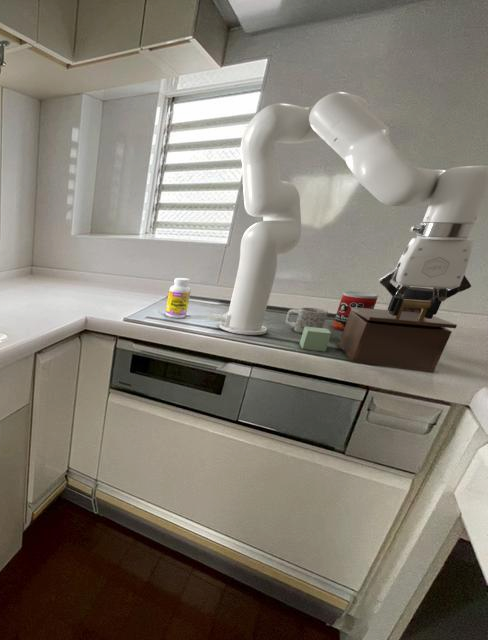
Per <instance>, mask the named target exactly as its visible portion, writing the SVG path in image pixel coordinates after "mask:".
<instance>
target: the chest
mask: <svg viewBox="0 0 488 640" xmlns="http://www.w3.org/2000/svg"><path fill="white" fill-rule="evenodd" d="M452 332H453V331H452V330H451V329H450V328H446V327H435V326H424V325H413V324H402V323H391V322H381V321H370V320H367V319H366V318H364V317H362V316H360V315H359V314H357V313H355V312H353V311H352V310H351V311H350V314H349V317H348V319H347V322H346V325H345V328H344V331H342V334H341V337H340V340H339V342H338V347H339V348H340V349H341V350H342V351H343V353H344V354H345V355H346V356H347V357H348V359H349V360H350V361H351V363H357V364H365V365H373V366H374V365H375V366H382V367H388V368H395V369H396V368H397V369H404V370H411V371H420V372H421V371H422V372H427V373H434V372H435V369H436V368H437V365H438V363H439V361H440V359H441V358H442V354H443V352H444V350H445V349H446V345H447V343H448V341H449V339H450V337H451V335H452Z"/></svg>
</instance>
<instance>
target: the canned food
mask: <svg viewBox="0 0 488 640" xmlns="http://www.w3.org/2000/svg"><path fill="white" fill-rule="evenodd" d="M378 298H379V295H378V294H376V293H371V292H365V291H353V290H352V291H351V290H350V291H344V292H343V293H342V296H341V298H340V302H339V305H338V307H337V311H336V314H335V317H334V320H333V323H332V327H333V329H335V330H338V331H342V332H343V331H344V328H345V325H346V322H347V319H348V317H349V314H350V311H351V308H352V307H357V308H369V309H375V306H376V304H377V300H378Z"/></svg>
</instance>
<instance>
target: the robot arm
mask: <svg viewBox="0 0 488 640" xmlns="http://www.w3.org/2000/svg"><path fill="white" fill-rule="evenodd" d="M390 132H391V131H390V129H389V127H388V126H387V125H386V124H384V123H383V122H382V121H381V120H380V119H379V118H378V117H376V116H375V114H373V113H372V112H370V110H369V104H368V102H367V101H366V99H365V98H363V97H362V96H359V95H356V94H352V93H349V92H346V91H335V92H332V93H329V94H326V95H325V96H324V97H322V98H320V99H319V100H318V101H317V102H316V103H315V104H314V105H311V106H299V105H295V104H292V103H285V102H279V103H272V104H269V105H267V106H264V108H262V109H261V110H259V111H258V112H257V113H256V114H255V115H254V116H253V117H252V119H251V120H250V121H249V122H248V124H247V126H246V127H245V129H244V131H243V134H242V137H241V141H240V157H241V158H240V159H241V166H242V167H241V168H242V187H243V188H242V189H243V203H244V210H245V212H246V213H247V215H249V216H251V217H254V218H262V221H257V222H256V223H254V224H252V225H251V226H249V227H248V228H247V229H246V230H245V232H244V233H243V235H242V237H241V241H240V246H239V247H240V250H239V251H240V252H239V263H238V266H237V267H238V268H237V271H236V272H237V273H236V275H235V276H236V277H235V281H234V285H233V291H232V295H231V299H230V304H229V307H228V311H226V313H222V314H218V313H211V314H210V318H209V319H210V320H213V321H214V322H220V323H219V328H220V329H221V330H223V331H226V332H228V333H232V334H238V335H245V336H246V335H247V336H262V335H264V334H266V333H267V332H268V328H267V327H266V326H264V325H263V323H264V320H265V315H266V311H267V307H268V305H269V300H270V297H271V294H272V289H273V286H274V282H275V277H276V273H277V268H278V255H282V254H287V253H289V252H291V251H292V250H294V249H295V247H297V246H298V244H299V242H300V240H301V236H302V215H301V213H302V211H301V197H300V192H299V190H298V188H297V187H296V185H294V184H293V183H292V182H289V181H285V180H282V179H281V171H280V164H281V163H280V157H279V154H278V152H277V147H276V144H277V143H278V144H279V143H280V144H285V145H286V144H300V143H308V142H314V141H322V140H323V141H324V142H325V143H326V144H327V145H328V146H329V147H330V148H331V149H332V150H333V151H334V152H335V153H336V154H338V156H339V157H340V158H341V159H342V160H343V161H344V162H345V163H346V166H347V167H348V169H349V170H350V171H351V173H352V175H353V176H354V178H355V179H356V180H357V181H358V182H359V184H361V186H363V187H364V189H366V191H368V192H369V193H370V194H371V195H372V196H373V197H374V198H375V199H376V200H378V201H379V202H381V203H382V204H384V205H387V206H389V207H416V206H426V205H427V206H428V207H427V209H426V211H425V214H424V217H423V219H422V222H420V223H419V224H417V225H411V228H410V229H409V232H410V233H414V234H415V235H416V237H412V238H411V239H410V240H409V243H408V244H407V246H406V247H405V249H404V251H403V252H402V254H401V255H400V258H399V260H398V262H397V264H396V266H395V268H394V269H393V270H391V271H390V272H388V273H386V274H385V275H383V276H382V277H380V278H379V279H378V283H379V284H380V285H381V286H382V287H383V288H384V289H386V290H387V292H388V293H389V294H390V296H391V299H390V302H389V304H388V306H387V310H388V311H389V314H391V315H392V316H396V315H398V313H399V310H400V308H401V305H402V303H403V299H402V297H403V294H404V293H405V292H406V290H407V289H408V288H409V287H421V288H431V289H433V297H432V299H429V300H428V301H431V302H432V305H431V307H430V308H429V309H427V312H426V314H425V317H426V318H427V319H432V317H433V316H436V315H437V314H438V311H439V310H440V307H441V304H442V302H445V301H446V300H447V299H449V298H451V297H453V296H455V295H457V294H458V293H461V292H463V291H465V290H468V289H470V288H471V287H472V284H471V283H470V281H469V280H468V277H466V271H467V268H468V265H469V263H470V258H471V254H472V249H473V244H474V239H469V237H470V234H471V232H472V229H473V227H474V226H475V222H476V221H477V218H478V216H479V214H480V212H481V209H482V207H483V204H484V202H485V199H486V198H487V195H488V165H468V166H456V167H451V168H447V169H433V168H423V167H417V166H415V165H414V164H413V163H412V162H411V161H410V160H409V159H407V158H406V157H405V156H404V155H403V154H402V153H401V152H399V150H398V149H397V148H396V147H395V146H394V145H393V143H392V142H391V140H390V134H391V133H390ZM391 281H393V282H394V283H397V285H396V286H395V285H393V284H392V283H391Z"/></svg>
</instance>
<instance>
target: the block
mask: <svg viewBox="0 0 488 640" xmlns="http://www.w3.org/2000/svg"><path fill="white" fill-rule="evenodd" d="M332 334H333V333H332V332H331V331H330V329H328V328H324V327H323V328H315V327H306V326H305V327H304V331H303V333H301V338H300V340H299V342H298V343H299V346H300V348H301V349H302V350H307V351H316V352H323V353H324V352H326V351H327V348H328V345H329V342H330V340H331V337H332Z"/></svg>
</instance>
